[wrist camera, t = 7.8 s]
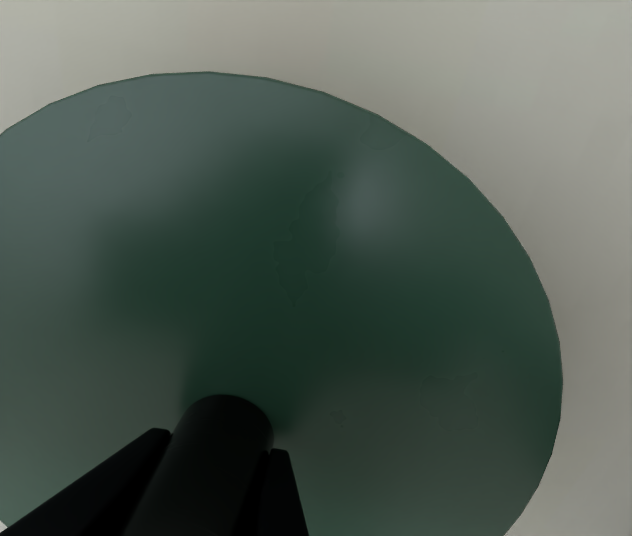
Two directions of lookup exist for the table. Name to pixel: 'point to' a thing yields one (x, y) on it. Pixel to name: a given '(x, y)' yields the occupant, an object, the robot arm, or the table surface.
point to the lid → (265, 314)
